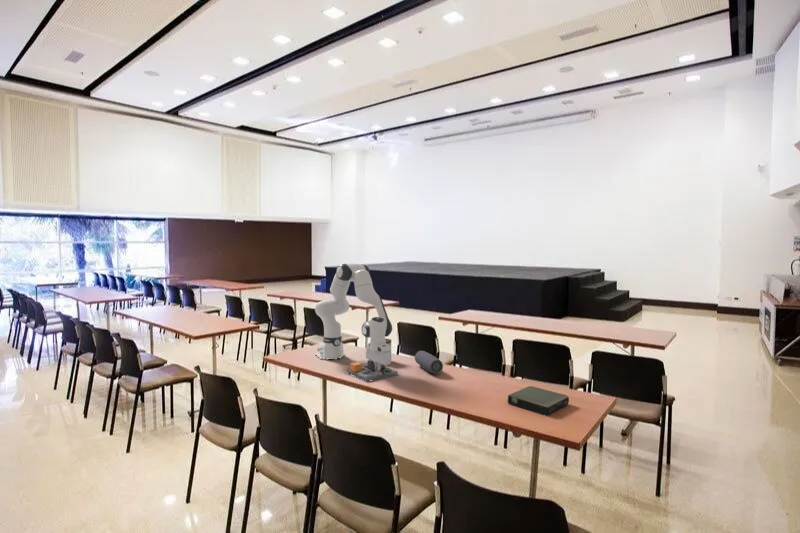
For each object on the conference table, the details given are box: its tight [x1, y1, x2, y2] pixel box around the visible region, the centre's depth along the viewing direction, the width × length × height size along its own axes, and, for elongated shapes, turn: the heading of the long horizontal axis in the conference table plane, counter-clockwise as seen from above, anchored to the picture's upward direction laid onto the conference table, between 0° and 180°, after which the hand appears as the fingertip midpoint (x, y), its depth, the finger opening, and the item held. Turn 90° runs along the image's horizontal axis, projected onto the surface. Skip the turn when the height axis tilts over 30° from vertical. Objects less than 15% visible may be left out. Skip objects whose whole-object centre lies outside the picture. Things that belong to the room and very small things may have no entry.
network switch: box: [507, 385, 570, 417], centre depth 217 cm, size 23×23×5 cm
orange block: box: [349, 361, 363, 372], centre depth 264 cm, size 5×5×4 cm
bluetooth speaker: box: [414, 350, 444, 375], centre depth 271 cm, size 23×9×10 cm, turn 22°
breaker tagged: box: [367, 359, 375, 371], centre depth 264 cm, size 3×3×6 cm
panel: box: [346, 364, 398, 382], centre depth 264 cm, size 20×22×3 cm
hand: (377, 369), depth 259 cm, fingers closed
